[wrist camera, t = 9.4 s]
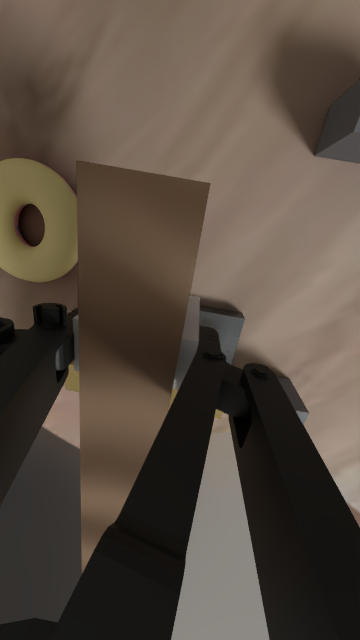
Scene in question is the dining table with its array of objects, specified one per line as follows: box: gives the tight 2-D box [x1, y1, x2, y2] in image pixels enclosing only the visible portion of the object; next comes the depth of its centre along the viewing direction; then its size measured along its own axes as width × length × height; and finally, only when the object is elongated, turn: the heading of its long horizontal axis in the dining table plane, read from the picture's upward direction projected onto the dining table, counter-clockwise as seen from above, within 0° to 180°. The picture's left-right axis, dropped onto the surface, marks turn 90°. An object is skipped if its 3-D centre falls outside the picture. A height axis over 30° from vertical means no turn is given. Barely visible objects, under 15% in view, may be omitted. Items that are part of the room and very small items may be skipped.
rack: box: [277, 79, 360, 424], centre depth 19 cm, size 26×5×5 cm, turn 171°
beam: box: [76, 160, 210, 573], centre depth 14 cm, size 26×4×4 cm, turn 171°
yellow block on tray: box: [65, 306, 245, 419], centre depth 21 cm, size 9×15×8 cm, turn 81°
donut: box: [0, 158, 78, 282], centre depth 20 cm, size 10×5×9 cm
